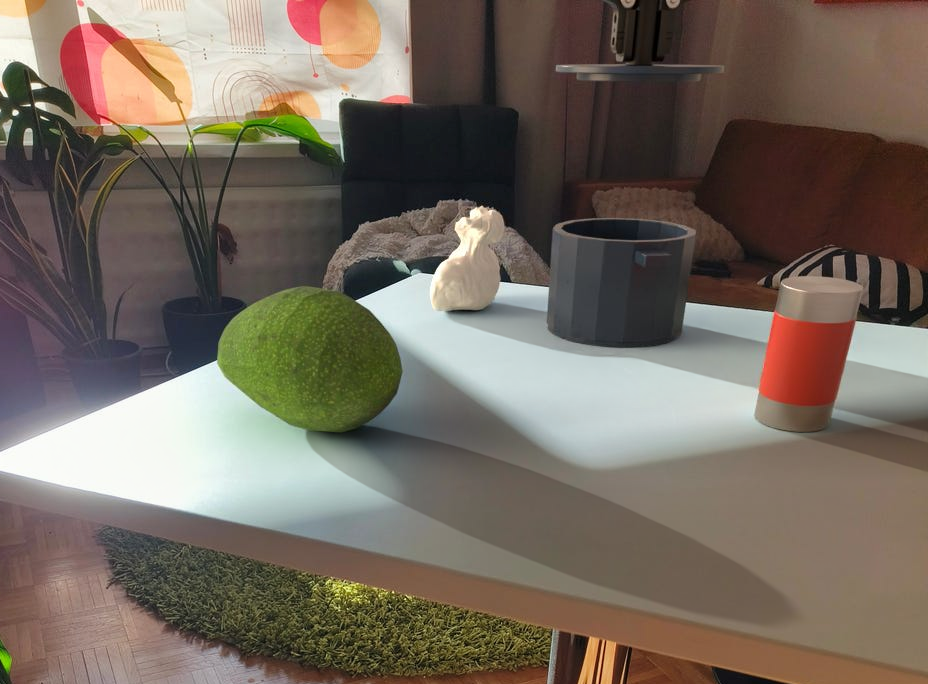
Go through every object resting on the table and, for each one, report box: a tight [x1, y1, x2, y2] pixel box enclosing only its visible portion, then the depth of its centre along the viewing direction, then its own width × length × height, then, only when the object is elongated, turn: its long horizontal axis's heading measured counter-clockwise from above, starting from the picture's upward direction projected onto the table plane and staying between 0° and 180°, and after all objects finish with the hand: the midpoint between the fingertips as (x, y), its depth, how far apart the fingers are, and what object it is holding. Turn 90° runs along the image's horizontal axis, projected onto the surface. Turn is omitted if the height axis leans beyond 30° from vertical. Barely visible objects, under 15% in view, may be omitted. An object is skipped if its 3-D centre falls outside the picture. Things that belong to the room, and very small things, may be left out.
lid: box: [555, 0, 725, 83], centre depth 77 cm, size 15×15×6 cm
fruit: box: [216, 285, 404, 433], centre depth 65 cm, size 15×10×10 cm, turn 53°
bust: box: [429, 205, 505, 312], centre depth 96 cm, size 12×8×11 cm
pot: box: [546, 217, 697, 348], centre depth 89 cm, size 14×19×9 cm
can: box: [753, 275, 864, 433], centre depth 67 cm, size 6×6×10 cm
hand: (639, 60), depth 78 cm, fingers closed on lid, 2 cm apart
